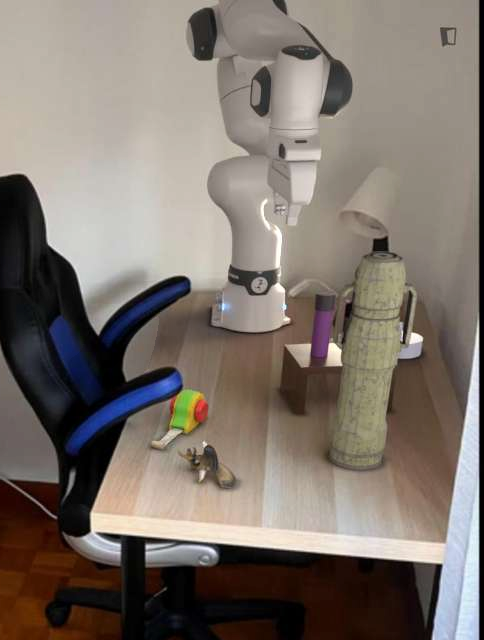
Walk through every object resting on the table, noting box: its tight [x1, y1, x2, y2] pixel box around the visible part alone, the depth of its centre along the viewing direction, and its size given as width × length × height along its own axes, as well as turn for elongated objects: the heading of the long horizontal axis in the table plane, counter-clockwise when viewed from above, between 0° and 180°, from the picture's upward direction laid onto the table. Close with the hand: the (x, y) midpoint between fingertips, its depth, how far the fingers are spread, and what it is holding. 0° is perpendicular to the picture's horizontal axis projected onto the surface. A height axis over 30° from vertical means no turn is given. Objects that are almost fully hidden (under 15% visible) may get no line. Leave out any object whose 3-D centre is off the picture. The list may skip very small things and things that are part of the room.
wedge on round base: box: [398, 321, 424, 360], centre depth 213 cm, size 9×7×13 cm
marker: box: [310, 290, 337, 357], centre depth 183 cm, size 4×4×12 cm
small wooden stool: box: [279, 342, 399, 415], centre depth 188 cm, size 13×18×10 cm
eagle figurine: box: [176, 441, 237, 489], centre depth 161 cm, size 8×7×9 cm
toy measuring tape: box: [150, 389, 209, 450], centre depth 178 cm, size 6×19×7 cm, turn 147°
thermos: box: [328, 250, 419, 471], centre depth 159 cm, size 9×12×35 cm
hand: (285, 219), depth 185 cm, fingers open, 8 cm apart
